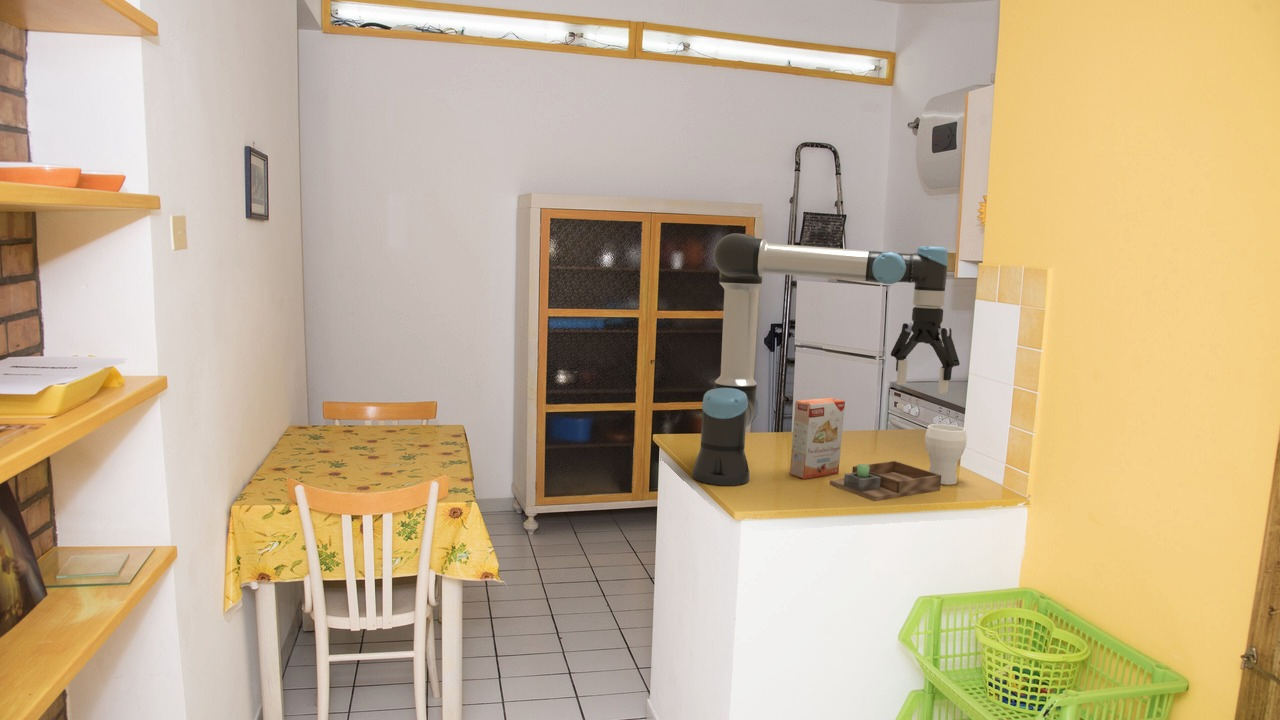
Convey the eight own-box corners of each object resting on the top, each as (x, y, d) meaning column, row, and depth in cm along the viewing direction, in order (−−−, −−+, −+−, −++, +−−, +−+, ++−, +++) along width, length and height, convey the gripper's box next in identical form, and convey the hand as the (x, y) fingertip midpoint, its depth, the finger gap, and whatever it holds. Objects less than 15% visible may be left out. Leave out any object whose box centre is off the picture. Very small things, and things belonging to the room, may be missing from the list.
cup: (957, 488, 225) (963, 433, 223) (917, 481, 231) (922, 427, 229) (966, 480, 234) (971, 427, 232) (926, 473, 240) (931, 421, 238)
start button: (862, 480, 217) (863, 467, 217) (854, 477, 220) (855, 464, 219) (870, 479, 219) (871, 466, 218) (862, 476, 221) (863, 463, 221)
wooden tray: (874, 500, 211) (876, 485, 210) (829, 484, 224) (830, 469, 224) (939, 490, 223) (941, 475, 223) (893, 474, 237) (894, 460, 236)
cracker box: (805, 480, 227) (810, 403, 224) (788, 475, 232) (793, 399, 229) (840, 474, 235) (846, 400, 232) (824, 469, 240) (829, 396, 237)
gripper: (979, 310, 209) (971, 395, 212) (900, 303, 230) (894, 380, 233) (959, 311, 205) (951, 397, 208) (881, 303, 226) (875, 381, 229)
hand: (921, 388), depth 220 cm, fingers open, 13 cm apart
